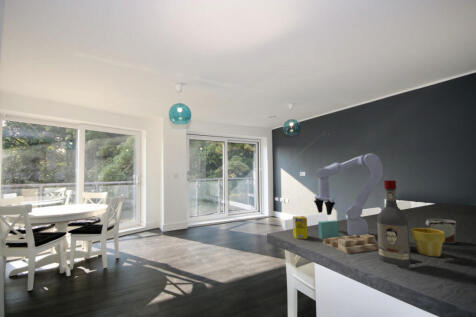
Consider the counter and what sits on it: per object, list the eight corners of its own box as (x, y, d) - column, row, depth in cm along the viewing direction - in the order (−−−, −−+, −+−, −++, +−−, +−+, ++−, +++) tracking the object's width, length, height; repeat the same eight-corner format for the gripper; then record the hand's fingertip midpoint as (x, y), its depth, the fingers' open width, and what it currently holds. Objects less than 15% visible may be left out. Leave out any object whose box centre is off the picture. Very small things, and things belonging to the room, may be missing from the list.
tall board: (335, 236, 119) (334, 220, 119) (338, 237, 116) (338, 221, 117) (318, 237, 116) (318, 221, 116) (322, 239, 113) (321, 222, 114)
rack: (353, 240, 112) (353, 234, 112) (382, 251, 97) (382, 243, 97) (322, 244, 107) (321, 238, 107) (347, 256, 91) (347, 248, 92)
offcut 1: (346, 247, 99) (346, 237, 100) (353, 250, 95) (353, 240, 96) (338, 248, 98) (337, 238, 98) (345, 251, 94) (344, 241, 94)
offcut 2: (358, 245, 101) (357, 237, 101) (365, 248, 97) (365, 240, 97) (348, 247, 100) (348, 238, 100) (356, 249, 96) (355, 241, 96)
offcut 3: (368, 244, 103) (367, 234, 103) (375, 247, 99) (375, 236, 99) (360, 245, 101) (359, 235, 102) (367, 248, 98) (367, 237, 98)
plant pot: (410, 249, 98) (408, 226, 98) (441, 253, 93) (439, 228, 94) (415, 257, 88) (413, 232, 89) (450, 262, 84) (448, 234, 84)
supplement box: (307, 240, 114) (307, 218, 115) (295, 240, 114) (295, 218, 115) (304, 237, 120) (304, 215, 121) (293, 237, 120) (292, 216, 121)
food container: (447, 239, 112) (446, 218, 113) (458, 243, 106) (456, 221, 106) (420, 239, 113) (419, 218, 114) (429, 242, 107) (428, 220, 108)
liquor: (382, 256, 91) (377, 180, 93) (411, 261, 85) (405, 180, 87) (378, 263, 83) (373, 180, 86) (409, 269, 78) (403, 181, 80)
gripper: (310, 188, 136) (310, 211, 135) (326, 190, 122) (327, 216, 121) (320, 188, 138) (321, 211, 137) (337, 190, 124) (338, 215, 123)
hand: (324, 213), depth 129 cm, fingers open, 7 cm apart
